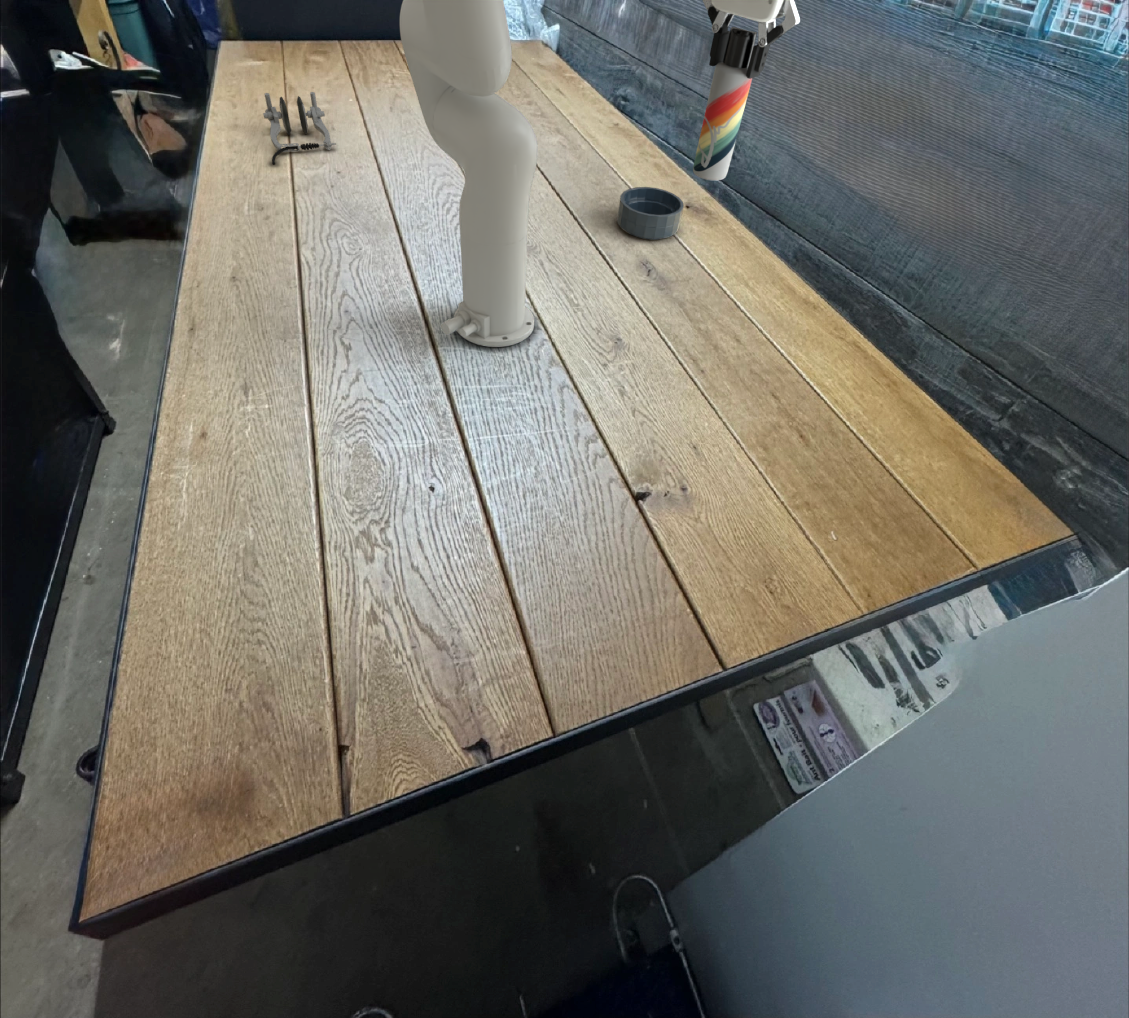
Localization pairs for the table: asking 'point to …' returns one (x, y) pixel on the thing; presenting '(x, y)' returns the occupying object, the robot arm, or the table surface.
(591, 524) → the table surface
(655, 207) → the bowl
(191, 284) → the table surface
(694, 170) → the lotion bottle
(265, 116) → the bike brake
